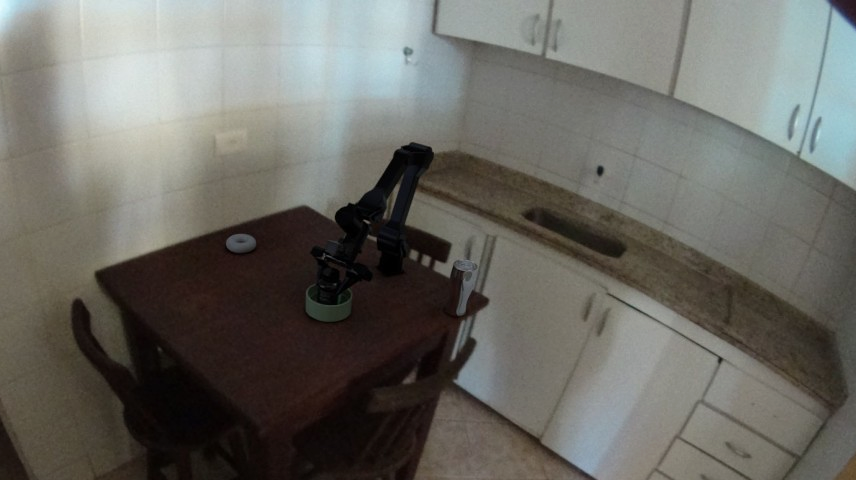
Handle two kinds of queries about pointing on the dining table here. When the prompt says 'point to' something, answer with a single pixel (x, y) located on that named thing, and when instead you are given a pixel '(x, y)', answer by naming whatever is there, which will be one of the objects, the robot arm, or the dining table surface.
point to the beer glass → (460, 287)
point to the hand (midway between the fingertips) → (326, 290)
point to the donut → (241, 243)
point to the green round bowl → (328, 306)
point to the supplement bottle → (329, 287)
